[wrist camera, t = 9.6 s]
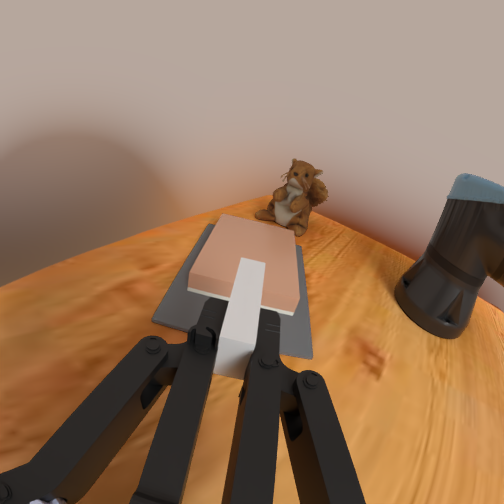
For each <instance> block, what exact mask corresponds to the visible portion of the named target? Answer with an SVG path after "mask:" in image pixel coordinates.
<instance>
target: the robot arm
mask: <svg viewBox="0 0 504 504" xmlns="http://www.w3.org/2000/svg"><path fill="white" fill-rule="evenodd" d="M265 264H266V263H264V262H260V261H255V260H251V259H247V258H243V257H241V260H240V263H239V267H238V271H237V274H236V278H235V281H234V285H233V289H232V292H231V296H230V300H229V301H227V300H223V299H218V298H214V297H210V298H209V299H208V300H207V301H205V303H204V306H203V309H202V311H201V314H200V317H199V319H198V322H197V324H196V325H194V326H192V327H190V329H189V330H188V336H187V341H186V342H185V343H181V344H167V343H166V341H165V340H164V339H162V338H161V337H158V336H147V337H144V338H143V339H141V340H140V341H139V342H138V343H137V344H136V345H135V347H134V348H133V349H132V350H131V351H130V352H129V353H128V354H127V355H126V356H125V357H124V358H123V359H122V360H121V361H120V362H119V363H118V365H117V366H116V367H115V368H114V369H113V370H112V371H111V372H110V373H109V374H108V375H107V376H106V377H105V378H104V380H103V381H102V382H101V383H100V384H99V385H98V386H97V387H96V388H95V389H94V390H93V391H92V393H91V394H90V395H89V396H88V397H87V398H86V399H85V400H84V401H83V402H82V403H81V405H80V406H79V407H78V408H77V409H76V410H75V411H74V412H73V413H72V414H71V416H70V417H69V418H68V419H67V420H66V421H65V422H64V423H63V424H62V426H61V427H60V428H59V429H58V430H57V431H56V432H55V433H54V435H53V436H52V437H51V438H50V439H49V440H48V441H47V442H46V444H45V445H44V446H43V447H42V448H41V449H40V450H39V452H38V453H37V454H36V455H35V456H34V457H33V458H32V460H31V461H30V462H29V463H27V464H24V465H22V466H19V467H17V468H14V469H12V470H9V471H7V472H4V473H1V474H0V504H75V503H76V502H78V501H79V500H80V499H81V498H82V497H83V496H84V495H85V494H86V493H87V492H88V491H89V489H90V488H91V487H92V485H93V484H94V483H95V481H96V480H97V479H98V478H99V476H100V475H101V474H102V472H103V471H104V470H105V468H106V467H107V466H108V464H109V463H110V462H111V461H112V459H113V458H114V457H115V455H116V454H117V453H118V451H119V450H120V449H121V447H122V446H123V445H124V443H125V442H126V441H127V439H128V438H129V437H130V435H131V434H132V433H133V431H134V430H135V429H136V427H137V426H138V425H139V423H140V422H141V421H142V419H143V418H144V417H145V415H146V414H147V413H148V411H149V410H150V409H151V407H152V406H153V405H154V403H155V402H156V401H157V399H158V398H159V397H160V395H161V394H162V393H163V391H164V390H165V388H166V387H167V386H168V385H172V386H171V389H170V392H169V395H168V397H167V400H166V403H165V406H164V409H163V412H162V415H161V418H160V421H159V423H158V426H157V429H156V432H155V435H154V438H153V441H152V444H151V447H150V450H149V453H148V456H147V460H146V463H145V466H144V469H143V472H142V475H141V478H140V482H139V485H138V488H137V490H136V491H135V493H134V494H133V496H132V498H131V500H130V503H129V504H181V503H182V499H183V495H184V490H185V486H186V482H187V478H188V474H189V469H190V465H191V461H192V457H193V453H194V449H195V445H196V441H197V436H198V432H199V428H200V424H201V420H202V416H203V412H204V408H205V404H206V400H207V396H208V392H209V388H210V384H211V379H212V375H213V373H214V374H219V375H223V376H227V377H232V378H236V379H241V380H243V379H244V382H243V386H242V388H241V391H240V394H239V396H238V397H240V399H239V405H238V411H237V417H236V423H235V429H234V435H233V440H232V446H231V452H230V458H229V464H228V469H227V475H226V480H225V486H224V492H223V497H222V503H221V504H273V494H274V483H275V472H276V460H277V446H278V431H279V415H280V417H281V421H282V426H283V430H284V435H285V439H286V444H287V448H288V453H289V457H290V461H291V466H292V470H293V474H294V479H295V483H296V488H297V492H298V496H299V500H300V504H366V503H365V500H364V496H363V493H362V490H361V487H360V484H359V481H358V477H357V474H356V471H355V468H354V465H353V462H352V459H351V456H350V453H349V450H348V447H347V444H346V441H345V438H344V435H343V432H342V429H341V426H340V423H339V421H338V418H337V415H336V412H335V409H334V406H333V403H332V400H331V398H330V395H329V392H328V389H327V386H326V384H325V381H324V379H323V377H322V376H321V375H320V374H318V373H317V372H315V371H311V370H305V371H302V372H301V373H298V372H295V371H293V370H291V369H289V368H287V367H286V366H285V365H284V364H283V363H282V361H281V359H280V355H279V350H280V323H281V318H280V316H279V314H278V312H277V311H273V310H268V309H264V308H260V306H261V298H262V289H263V281H264V273H265ZM487 276H490V277H491V278H493V279H494V280H495V281H496V282H498V283H499V284H500V285H502V286H503V287H504V187H503V186H500V185H499V184H496V183H494V182H492V181H489V180H487V179H484V178H481V177H478V176H475V175H472V174H466V173H464V174H460V175H459V176H458V177H457V178H456V179H455V182H454V184H453V187H452V189H451V191H450V194H449V195H448V196H447V202H446V205H445V207H444V210H443V212H442V215H441V217H440V220H439V222H438V225H437V227H436V229H435V231H434V233H433V236H432V238H431V240H430V242H429V244H428V246H427V249H426V251H425V252H424V254H423V255H422V256H421V257H420V258H419V259H418V260H417V261H416V262H415V263H414V264H413V265H412V266H411V267H410V268H409V269H408V270H407V271H406V272H405V273H404V274H403V275H402V276H401V278H400V280H399V282H398V283H397V285H396V287H395V296H396V299H397V301H398V303H399V305H400V306H401V308H402V309H403V310H404V311H405V313H406V314H407V315H408V316H409V317H410V318H411V319H412V320H413V321H414V322H416V323H417V324H418V325H419V326H421V327H422V328H424V329H425V330H427V331H428V332H430V333H432V334H434V335H436V336H439V337H442V338H446V339H455V338H458V337H459V336H460V335H461V334H462V332H463V331H464V330H465V328H466V327H467V325H468V323H469V320H470V318H471V314H472V311H473V308H474V305H475V302H476V298H477V295H478V292H479V289H480V287H481V286H482V284H483V282H484V280H485V278H486V277H487Z"/></svg>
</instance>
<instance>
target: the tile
mask: <svg viewBox="0 0 504 504" xmlns="http://www.w3.org/2000/svg"><path fill="white" fill-rule="evenodd" d="M241 257H243V258H247V259H251V260H255V261H260V262H264V263H266V264H265V273H264V281H263V289H262V298H261V306H260V308H264V309H268V310H273V311H277V312H278V313H282V314H287V315H291V316H293V314H294V312H295V309H296V307H297V305H298V302H299V300H300V294H299V281H298V268H297V257H296V246H295V235H294V231H292V230H289V229H285V228H281V227H277V226H273V225H269V224H265V223H261V222H257V221H252V220H248V219H244V218H240V217H236V216H232V215H227V214H223V213H222V215H221V217H220V218H219V220H218V222H217V224H216V225H215V227H214V229H213V231H212V232H211V234H210V236H209V238H208V239H207V241H206V243H205V245H204V246H203V248H202V250H201V252H200V254H199V255H198V257H197V259H196V261H195V263H194V264H193V266H192V268H191V270H190V272H189V279H188V289H187V291H191V292H195V293H199V294H202V295H206V296H210V297H214V298H218V299H223V300H227V301H229V300H230V296H231V292H232V289H233V285H234V281H235V278H236V274H237V271H238V267H239V263H240V260H241Z"/></svg>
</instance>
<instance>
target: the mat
mask: <svg viewBox="0 0 504 504" xmlns="http://www.w3.org/2000/svg"><path fill="white" fill-rule="evenodd" d="M214 227H215V225H213V224H208V226H207V227H206V229H205V231H204V232H203V234H202V235H201V237H200V238H199V240H198V242H197V243H196V245H195V246H194V248H193V250H192V251H191V253H190V255H189V256H188V258H187V259H186V261H185V263H184V264H183V266H182V268H181V269H180V271H179V273H178V274H177V276H176V278H175V279H174V281H173V283H172V284H171V286H170V288H169V290H168V291H167V293H166V295H165V296H164V298H163V300H162V302H161V303H160V305H159V307H158V309H157V310H156V312H155V314H154V316H153V317H152V322H155V323H158V324H161V325H164V326H168V327H171V328H174V329H178V330H181V331H185V332H188V330H189V329H190V327H192V326H194V325H196V324H197V322H198V319H199V317H200V314H201V311H202V309H203V306H204V303H205V301H207V300H208V299H209V298H210V296H206V295H202V294H199V293H195V292H191V291H187V289H188V279H189V272H190V270H191V268H192V266H193V264H194V263H195V261H196V259H197V257H198V255H199V254H200V252H201V250H202V248H203V246H204V245H205V243H206V241H207V239H208V238H209V236H210V234H211V232H212V231H213V229H214ZM295 246H296V257H297V268H298V281H299V294H300V300H299V302H298V305H297V307H296V309H295V312H294V314H293V316H291V315H287V314H282V313H278V314H279V316H280V318H281V323H280V350H279V354H283V355H288V356H294V357H299V358H305V359H312V358H313V351H312V339H311V328H310V317H309V307H308V298H307V289H306V280H305V272H304V264H303V256H302V248H301V246H299V245H295Z"/></svg>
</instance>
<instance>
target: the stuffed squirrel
mask: <svg viewBox="0 0 504 504" xmlns="http://www.w3.org/2000/svg"><path fill="white" fill-rule="evenodd" d="M285 174H287V176H285V178H286V177H287V181H288V183H287V184H285V185H284V186H283V187H280V188H278V189H276V190H275V191H274V193H273V199H272V200H271V201H270V203H269V205H268V208H267V210H259V211H257V212H256V213H255V217H256V218H257V219H261V220H268V221H275V222H277V223H278V224H280V225H282V226H285V227H287V228H288V229H289V230H292V231H294V235H296V236H301V235H303V234H304V233H305V232H306V230H307V227H308V218H309V215H310V212H311V211H312V207H315V206H318V204H321V203H323V201H325V200H326V198H327V197H328V194H327V193H328V191H327V189H326V186H325V185H324V183H323V182H321V181H320V180H319V179H316V177H318V176H319V175H321V174H323V171H322V170H318V169H315V168H314V167H313V166H312V165H310V164H309V163H307V162H304V161H297V160H296V159H292V167H291V168H290V170H289V172H288V173H285ZM285 174H283V175H285ZM283 175H282V176H283ZM282 176H281V177H282ZM285 178H284V179H283V181H284V180H285ZM326 201H327V200H326Z"/></svg>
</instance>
